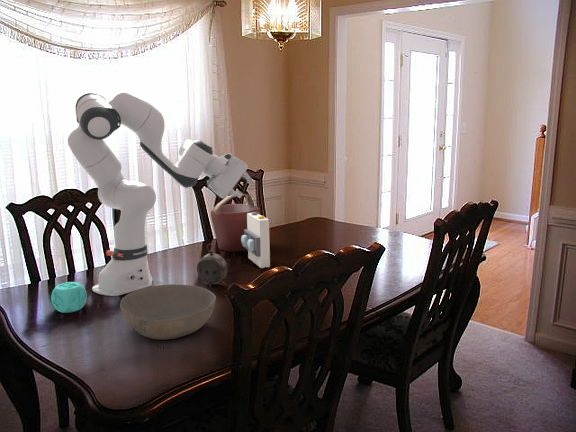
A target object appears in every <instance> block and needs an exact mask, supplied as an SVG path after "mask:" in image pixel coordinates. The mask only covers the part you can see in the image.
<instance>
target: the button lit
mask: <svg viewBox="0 0 576 432" xmlns="http://www.w3.org/2000/svg"><path fill="white" fill-rule="evenodd" d="M247 246H248V250H249V251H250V252H251V251H255V241H254V239H249V240H248V242H247ZM248 250H247V251H248Z"/></svg>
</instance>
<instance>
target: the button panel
mask: <svg viewBox="0 0 576 432" xmlns="http://www.w3.org/2000/svg"><path fill="white" fill-rule="evenodd" d="M244 235H248V238H249V239H254V241H255V251H251V252H250V251H249V250H248V247H245V248H246V249H247V250H246V251H247V252H248V254H247V257H248V259H249V260H250V261H251V262H253V264H255V265H256V266H258V267H259V268H260V269H264V268H265V267H266V268H270V267H271V257H270V256H271V249H270V244H271V243H270V219H268V217H265V216H264V215H261V214H260V215H259V214H258V213H257V212H252V213H247V229H245V230H244Z"/></svg>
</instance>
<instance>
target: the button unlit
mask: <svg viewBox="0 0 576 432" xmlns="http://www.w3.org/2000/svg"><path fill="white" fill-rule="evenodd" d="M248 240H249V238H248V235H242V237H241V242H242V246H243V247H248V246H247V242H248Z"/></svg>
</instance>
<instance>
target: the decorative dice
mask: <svg viewBox="0 0 576 432" xmlns="http://www.w3.org/2000/svg"><path fill="white" fill-rule="evenodd" d="M50 299H51V303H52V306H53V308H54V309H55V310H56V311H57V312H60V313H63V314H68V313H75V312H78V311H80V310H82V309H83V308H84V306H85V305H86V303H87V301H88V300H87V299H88V294H87V290H86V288H85V286H84V285H83V284H81V283H80V282H78V281H67V282H63V283H59V284H57V285H56V286H55V287H54V289H52V292H51V295H50Z"/></svg>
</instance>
